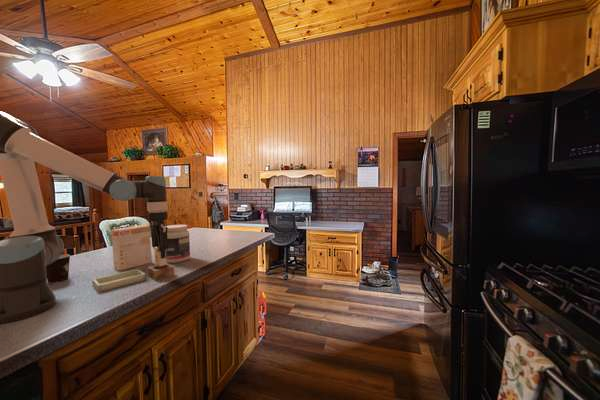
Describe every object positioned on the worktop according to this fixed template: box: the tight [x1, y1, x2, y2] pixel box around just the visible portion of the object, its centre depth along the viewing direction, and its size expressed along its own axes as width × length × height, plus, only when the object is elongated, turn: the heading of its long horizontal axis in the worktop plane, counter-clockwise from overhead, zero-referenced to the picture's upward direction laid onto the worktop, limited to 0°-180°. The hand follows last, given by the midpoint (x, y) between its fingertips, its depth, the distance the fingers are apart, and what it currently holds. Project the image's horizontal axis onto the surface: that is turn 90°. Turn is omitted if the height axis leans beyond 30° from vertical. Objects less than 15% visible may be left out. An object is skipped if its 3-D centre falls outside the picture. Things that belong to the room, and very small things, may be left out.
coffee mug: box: [46, 254, 71, 284], centre depth 110 cm, size 12×9×10 cm
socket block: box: [147, 262, 175, 281], centre depth 111 cm, size 8×8×4 cm
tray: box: [91, 268, 147, 293], centre depth 104 cm, size 16×11×2 cm
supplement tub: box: [165, 224, 191, 264], centre depth 134 cm, size 13×13×18 cm
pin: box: [153, 246, 166, 269], centre depth 110 cm, size 4×4×13 cm
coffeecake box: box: [110, 224, 153, 271], centre depth 126 cm, size 15×7×20 cm, turn 144°
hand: (160, 264), depth 111 cm, fingers closed on pin, 4 cm apart
